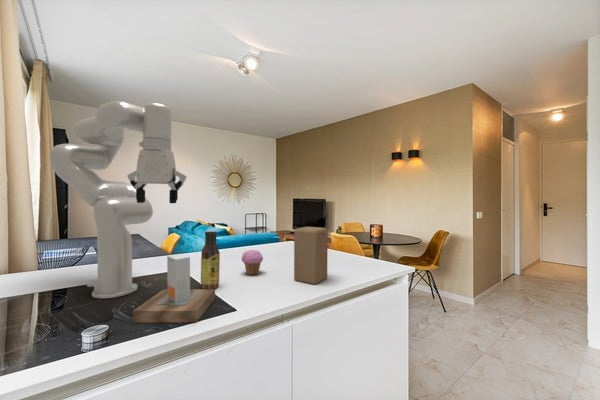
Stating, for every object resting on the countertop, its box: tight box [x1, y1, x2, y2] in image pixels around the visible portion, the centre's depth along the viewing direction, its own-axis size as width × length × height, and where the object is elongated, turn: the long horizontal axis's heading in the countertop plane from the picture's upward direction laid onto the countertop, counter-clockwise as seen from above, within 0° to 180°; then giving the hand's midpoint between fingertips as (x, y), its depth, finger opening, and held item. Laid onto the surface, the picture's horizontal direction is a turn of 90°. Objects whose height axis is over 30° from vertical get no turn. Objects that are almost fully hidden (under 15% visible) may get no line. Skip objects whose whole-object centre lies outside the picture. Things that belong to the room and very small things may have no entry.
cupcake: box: [241, 249, 264, 276], centre depth 114 cm, size 9×9×10 cm
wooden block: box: [293, 226, 329, 285], centre depth 106 cm, size 10×10×20 cm
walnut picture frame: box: [132, 288, 216, 324], centre depth 77 cm, size 16×16×3 cm
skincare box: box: [166, 253, 191, 302], centre depth 77 cm, size 6×4×12 cm
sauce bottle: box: [200, 230, 221, 289], centre depth 96 cm, size 6×6×20 cm
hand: (157, 202), depth 83 cm, fingers open, 9 cm apart
